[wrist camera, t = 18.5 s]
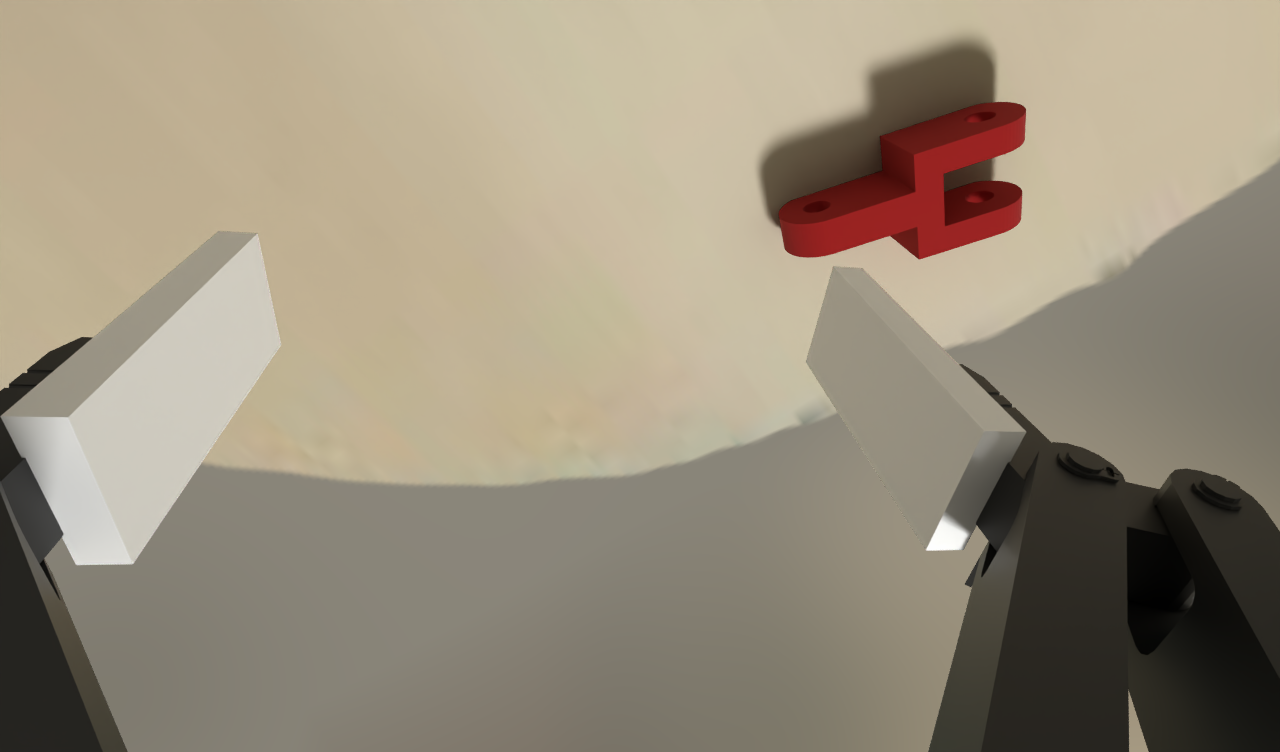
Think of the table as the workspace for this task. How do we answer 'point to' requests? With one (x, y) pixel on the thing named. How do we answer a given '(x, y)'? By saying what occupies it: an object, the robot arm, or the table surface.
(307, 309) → the table surface
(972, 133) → the mechanical linkage
